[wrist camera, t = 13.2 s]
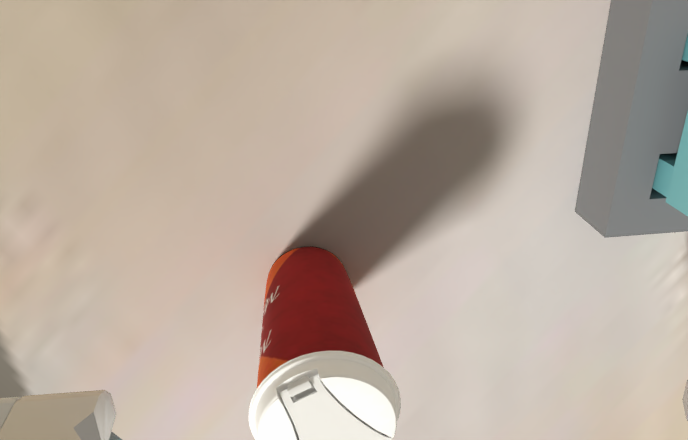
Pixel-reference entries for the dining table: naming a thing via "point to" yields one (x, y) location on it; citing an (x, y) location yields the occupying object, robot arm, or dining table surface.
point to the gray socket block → (636, 119)
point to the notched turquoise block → (675, 168)
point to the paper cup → (319, 358)
